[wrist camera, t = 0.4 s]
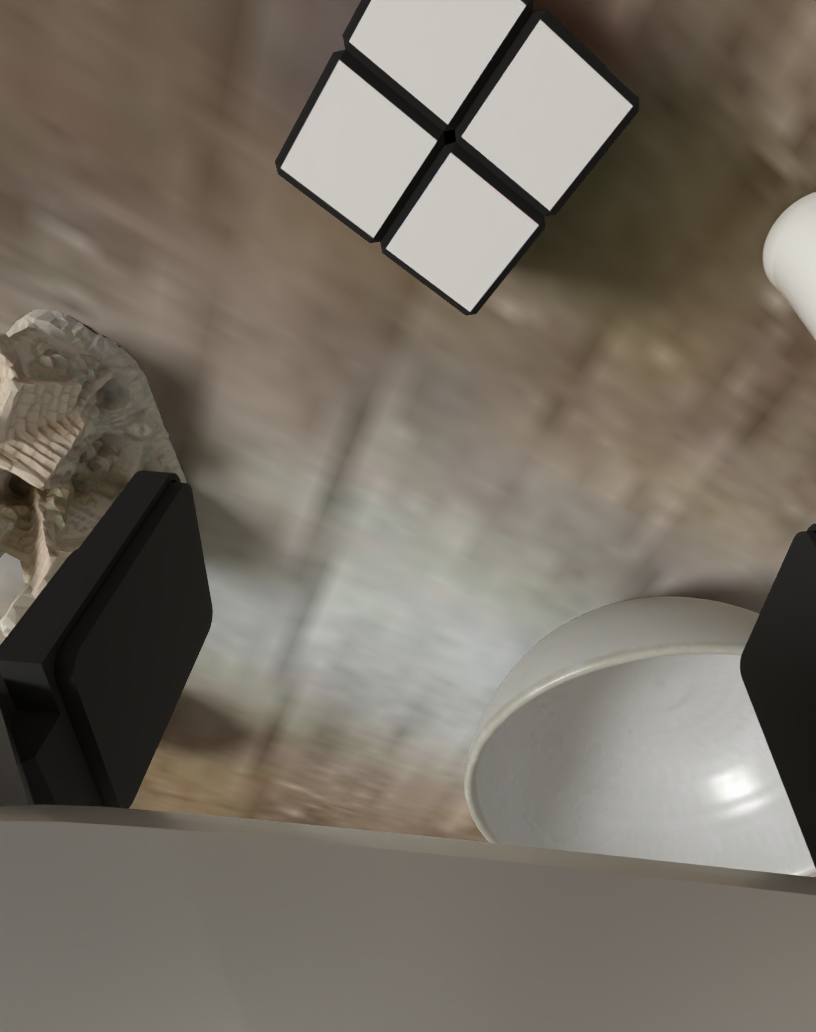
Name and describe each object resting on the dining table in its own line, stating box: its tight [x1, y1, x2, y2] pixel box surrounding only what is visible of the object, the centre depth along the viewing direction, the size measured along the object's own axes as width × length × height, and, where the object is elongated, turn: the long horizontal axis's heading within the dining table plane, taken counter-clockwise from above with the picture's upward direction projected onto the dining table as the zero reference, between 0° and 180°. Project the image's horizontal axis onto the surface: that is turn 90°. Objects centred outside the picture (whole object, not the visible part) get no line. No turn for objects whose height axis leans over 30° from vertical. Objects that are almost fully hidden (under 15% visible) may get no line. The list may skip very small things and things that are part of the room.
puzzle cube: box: [275, 0, 639, 315], centre depth 30 cm, size 10×10×10 cm
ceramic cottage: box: [0, 309, 187, 637], centre depth 41 cm, size 16×16×15 cm
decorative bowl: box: [464, 596, 816, 877], centre depth 49 cm, size 27×27×12 cm
